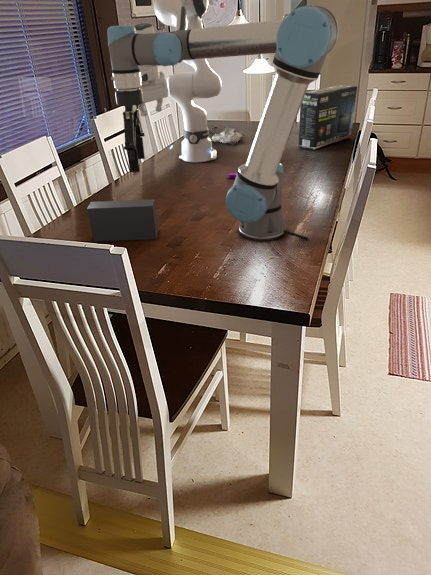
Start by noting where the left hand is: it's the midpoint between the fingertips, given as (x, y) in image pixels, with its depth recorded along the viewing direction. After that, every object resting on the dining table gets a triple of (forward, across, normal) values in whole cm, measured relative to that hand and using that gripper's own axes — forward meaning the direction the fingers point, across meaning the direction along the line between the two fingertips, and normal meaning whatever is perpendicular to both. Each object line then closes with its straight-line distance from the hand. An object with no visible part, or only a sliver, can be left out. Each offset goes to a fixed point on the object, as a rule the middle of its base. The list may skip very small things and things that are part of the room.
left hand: (151, 113), depth 177 cm
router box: (+30, -96, +39) cm, 108 cm away
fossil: (+29, -80, -11) cm, 86 cm away
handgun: (+30, -20, +29) cm, 46 cm away
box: (+30, +45, +19) cm, 57 cm away
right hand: (+6, +41, +25) cm, 49 cm away
